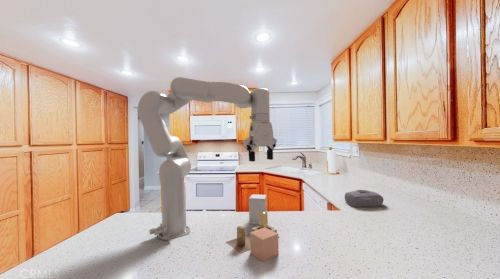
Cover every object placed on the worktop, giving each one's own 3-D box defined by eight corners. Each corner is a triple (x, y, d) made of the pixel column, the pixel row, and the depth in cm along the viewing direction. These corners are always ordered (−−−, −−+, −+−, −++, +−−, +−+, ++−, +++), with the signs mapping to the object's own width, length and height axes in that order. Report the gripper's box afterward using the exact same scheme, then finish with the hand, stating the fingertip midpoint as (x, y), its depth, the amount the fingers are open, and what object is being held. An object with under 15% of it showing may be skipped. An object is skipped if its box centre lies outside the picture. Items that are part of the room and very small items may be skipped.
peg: (263, 238, 81) (262, 214, 81) (258, 235, 83) (257, 212, 83) (269, 235, 83) (269, 212, 83) (264, 232, 85) (263, 210, 85)
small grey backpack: (356, 209, 115) (390, 208, 116) (355, 194, 115) (390, 192, 116) (341, 201, 130) (372, 200, 131) (341, 188, 130) (372, 186, 131)
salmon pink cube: (263, 265, 66) (262, 239, 65) (250, 256, 71) (250, 232, 71) (278, 258, 69) (278, 233, 69) (265, 249, 75) (264, 227, 75)
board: (241, 256, 70) (240, 235, 70) (225, 245, 78) (225, 225, 78) (279, 240, 81) (279, 221, 81) (262, 231, 89) (262, 214, 89)
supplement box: (265, 227, 94) (264, 198, 94) (248, 226, 95) (248, 198, 95) (267, 220, 101) (266, 194, 101) (251, 220, 102) (251, 193, 102)
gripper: (249, 117, 80) (250, 162, 80) (281, 119, 90) (282, 159, 90) (238, 119, 86) (238, 161, 86) (269, 120, 96) (270, 158, 96)
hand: (261, 160), depth 88 cm, fingers open, 9 cm apart
